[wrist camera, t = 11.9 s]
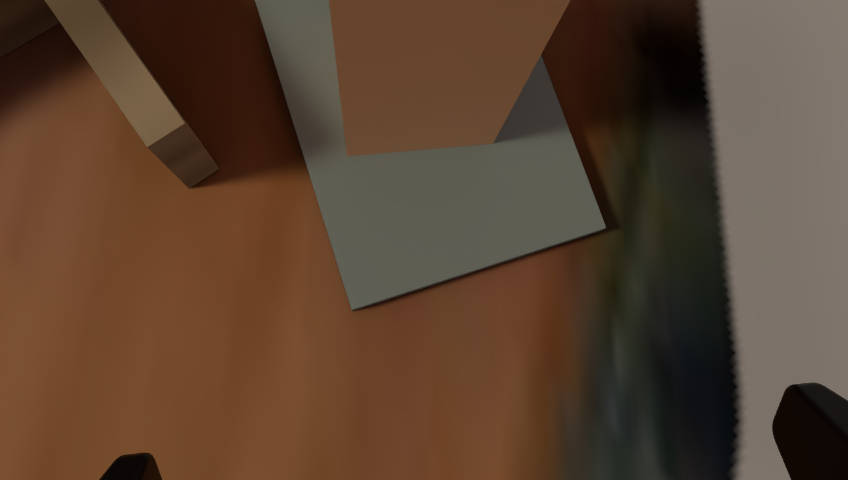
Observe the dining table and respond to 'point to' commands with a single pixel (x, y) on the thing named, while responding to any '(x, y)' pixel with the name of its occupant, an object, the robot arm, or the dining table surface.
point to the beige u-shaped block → (114, 76)
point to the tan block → (434, 68)
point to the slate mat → (426, 176)
